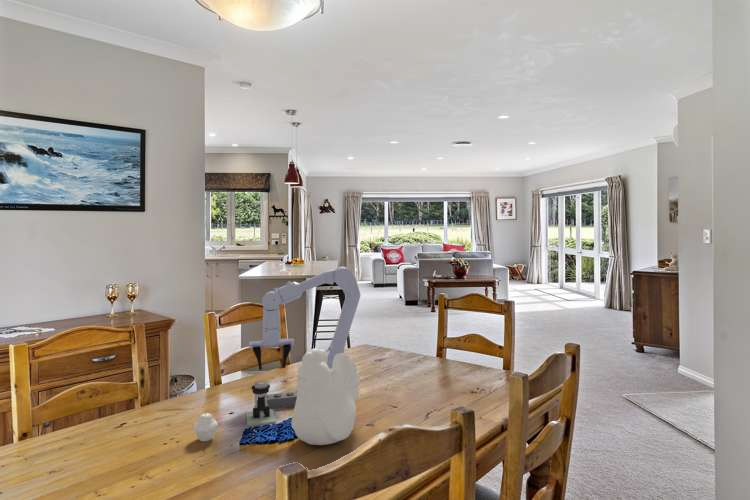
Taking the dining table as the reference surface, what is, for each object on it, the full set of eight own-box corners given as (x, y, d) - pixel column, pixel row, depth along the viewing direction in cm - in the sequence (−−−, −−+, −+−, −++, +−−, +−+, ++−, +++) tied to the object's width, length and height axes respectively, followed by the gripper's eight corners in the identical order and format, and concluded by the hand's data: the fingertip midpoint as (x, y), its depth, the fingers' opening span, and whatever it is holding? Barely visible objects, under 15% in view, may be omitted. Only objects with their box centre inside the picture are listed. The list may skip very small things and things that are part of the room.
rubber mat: (272, 410, 145) (272, 408, 145) (276, 422, 135) (276, 420, 135) (246, 413, 143) (246, 412, 143) (247, 426, 133) (247, 424, 133)
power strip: (313, 398, 156) (312, 387, 156) (315, 403, 151) (315, 392, 151) (257, 404, 150) (257, 393, 150) (259, 410, 146) (258, 398, 146)
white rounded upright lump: (316, 461, 112) (315, 358, 111) (278, 441, 123) (277, 348, 122) (386, 430, 130) (385, 341, 129) (347, 415, 141) (347, 333, 140)
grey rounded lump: (195, 445, 121) (194, 419, 121) (192, 436, 126) (192, 411, 126) (220, 440, 124) (219, 414, 123) (216, 432, 129) (215, 407, 129)
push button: (248, 421, 135) (248, 387, 135) (246, 415, 140) (245, 382, 139) (271, 418, 137) (271, 384, 137) (268, 412, 142) (268, 379, 142)
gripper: (291, 324, 161) (292, 363, 162) (248, 326, 157) (249, 366, 157) (294, 327, 155) (295, 368, 155) (249, 330, 150) (250, 372, 150)
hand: (272, 368), depth 156 cm, fingers open, 7 cm apart
